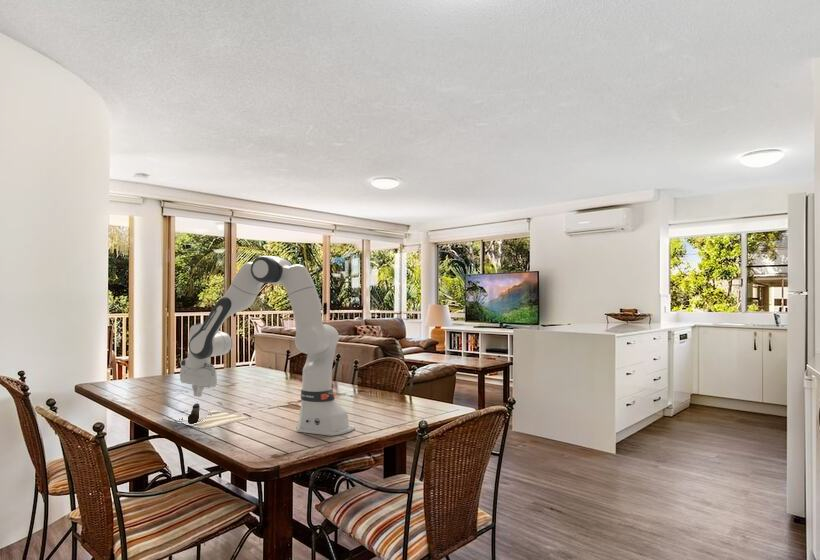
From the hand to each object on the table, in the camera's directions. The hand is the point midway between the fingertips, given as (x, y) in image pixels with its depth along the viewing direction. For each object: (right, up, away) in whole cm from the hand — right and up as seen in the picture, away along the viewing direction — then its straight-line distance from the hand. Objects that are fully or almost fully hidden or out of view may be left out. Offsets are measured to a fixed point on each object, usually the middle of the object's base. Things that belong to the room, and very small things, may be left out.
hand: (197, 396), depth 203 cm
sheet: (+5, -8, -4) cm, 10 cm away
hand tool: (0, -8, -4) cm, 9 cm away
